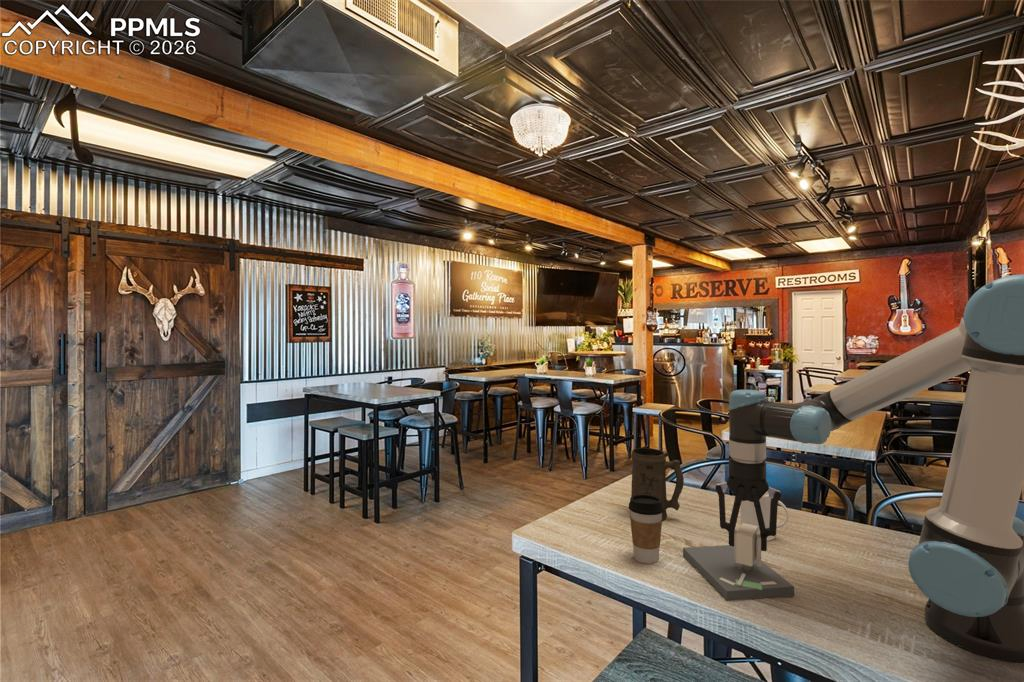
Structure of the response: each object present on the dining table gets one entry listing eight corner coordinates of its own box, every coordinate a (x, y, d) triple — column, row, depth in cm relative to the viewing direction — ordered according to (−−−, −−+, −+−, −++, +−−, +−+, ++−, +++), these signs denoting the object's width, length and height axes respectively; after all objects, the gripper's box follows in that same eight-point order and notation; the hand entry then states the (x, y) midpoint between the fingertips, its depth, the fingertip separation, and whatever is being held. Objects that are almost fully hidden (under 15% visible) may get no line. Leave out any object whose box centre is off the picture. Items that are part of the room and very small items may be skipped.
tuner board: (795, 596, 102) (795, 587, 101) (727, 601, 100) (727, 591, 100) (740, 552, 122) (740, 544, 122) (683, 555, 120) (683, 547, 120)
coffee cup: (639, 568, 114) (639, 505, 114) (622, 552, 122) (622, 494, 122) (671, 563, 116) (670, 502, 116) (651, 548, 125) (651, 490, 124)
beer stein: (626, 520, 143) (630, 453, 142) (628, 506, 153) (632, 444, 152) (681, 529, 138) (686, 460, 137) (679, 515, 149) (684, 451, 148)
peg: (757, 564, 111) (758, 526, 111) (747, 588, 101) (747, 546, 101) (742, 561, 113) (742, 523, 113) (730, 584, 103) (730, 542, 103)
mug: (791, 537, 130) (791, 492, 130) (783, 548, 124) (783, 501, 123) (744, 525, 138) (744, 483, 138) (735, 535, 132) (735, 491, 131)
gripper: (788, 458, 109) (788, 561, 109) (707, 451, 116) (707, 548, 116) (792, 467, 102) (792, 577, 102) (705, 459, 109) (706, 562, 109)
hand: (747, 561), depth 109 cm, fingers closed on peg, 4 cm apart
